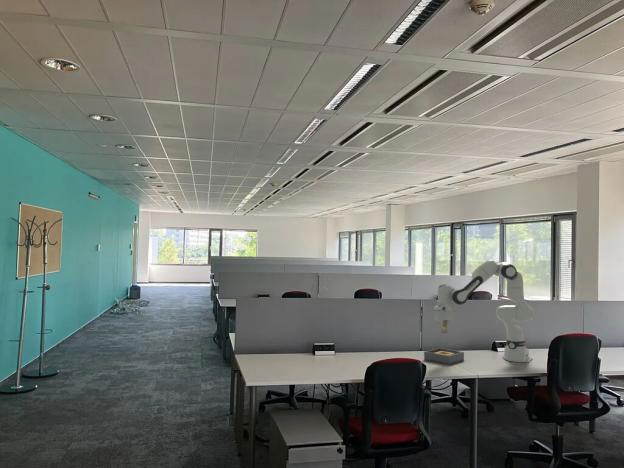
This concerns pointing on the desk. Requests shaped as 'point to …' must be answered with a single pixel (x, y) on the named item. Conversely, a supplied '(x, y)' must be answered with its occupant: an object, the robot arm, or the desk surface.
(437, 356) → the walled box
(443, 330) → the peg
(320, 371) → the desk surface
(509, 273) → the robot arm
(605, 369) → the desk surface
